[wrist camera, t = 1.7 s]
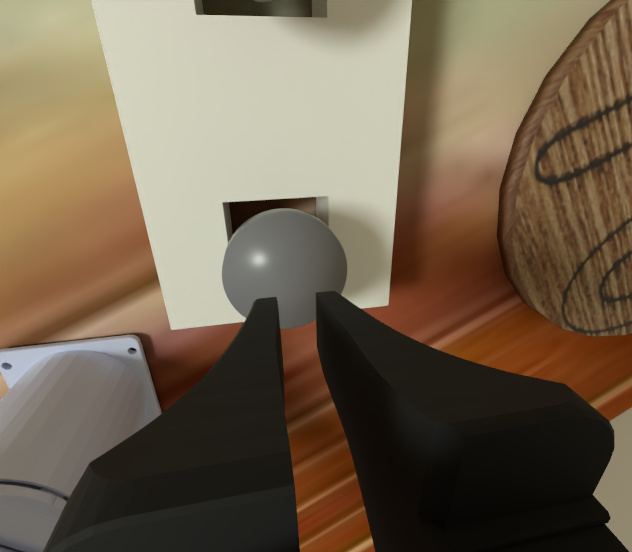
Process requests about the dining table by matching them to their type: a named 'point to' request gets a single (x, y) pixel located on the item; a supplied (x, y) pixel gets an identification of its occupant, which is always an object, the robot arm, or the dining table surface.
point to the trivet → (576, 185)
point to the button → (283, 264)
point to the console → (259, 132)
